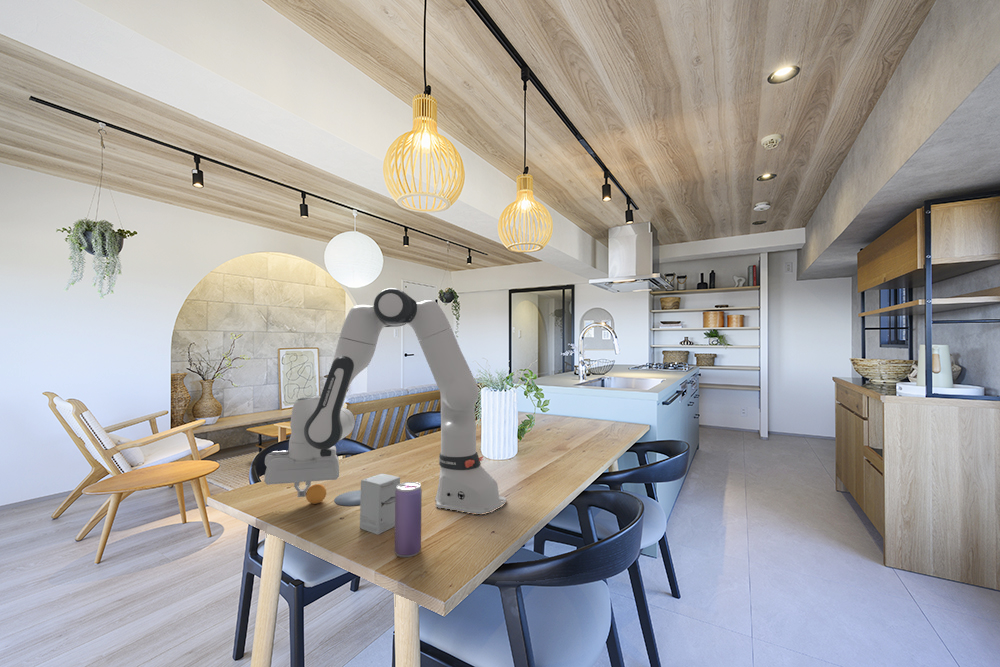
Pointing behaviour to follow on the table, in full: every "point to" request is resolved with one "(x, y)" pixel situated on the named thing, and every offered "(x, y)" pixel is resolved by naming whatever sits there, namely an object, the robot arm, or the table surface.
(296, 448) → the robot arm
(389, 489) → the supplement box
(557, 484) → the table surface
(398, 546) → the beverage can
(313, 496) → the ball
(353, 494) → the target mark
